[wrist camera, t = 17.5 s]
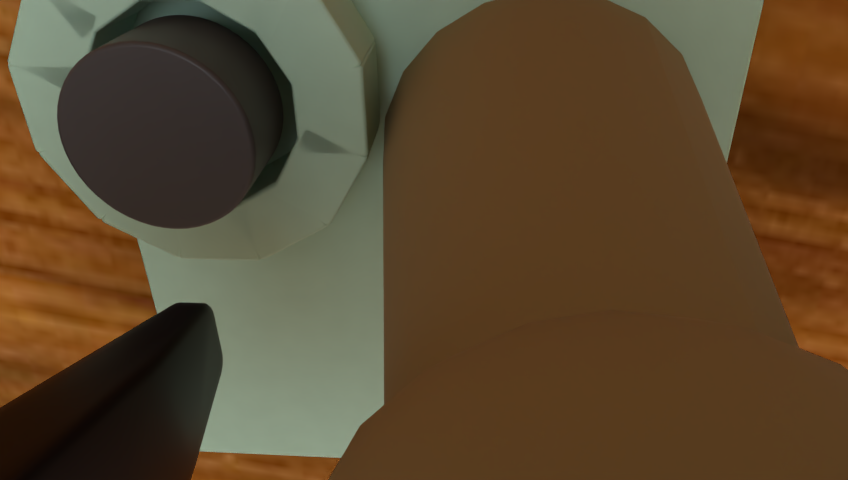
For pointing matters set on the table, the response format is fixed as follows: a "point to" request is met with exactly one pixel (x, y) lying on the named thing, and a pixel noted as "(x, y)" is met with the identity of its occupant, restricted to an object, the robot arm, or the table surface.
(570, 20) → the brown game pawn
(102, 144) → the dark brown cylinder
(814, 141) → the table surface
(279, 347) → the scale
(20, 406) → the robot arm
